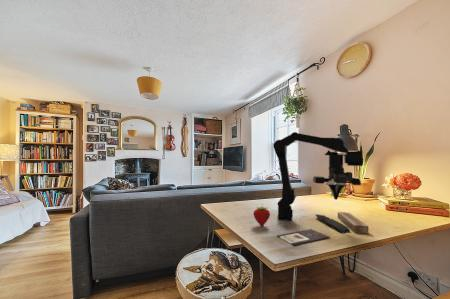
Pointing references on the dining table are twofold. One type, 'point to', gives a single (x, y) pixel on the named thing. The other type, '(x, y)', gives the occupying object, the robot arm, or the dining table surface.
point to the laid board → (353, 222)
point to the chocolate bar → (302, 237)
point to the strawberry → (261, 215)
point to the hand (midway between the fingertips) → (335, 199)
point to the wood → (333, 224)
